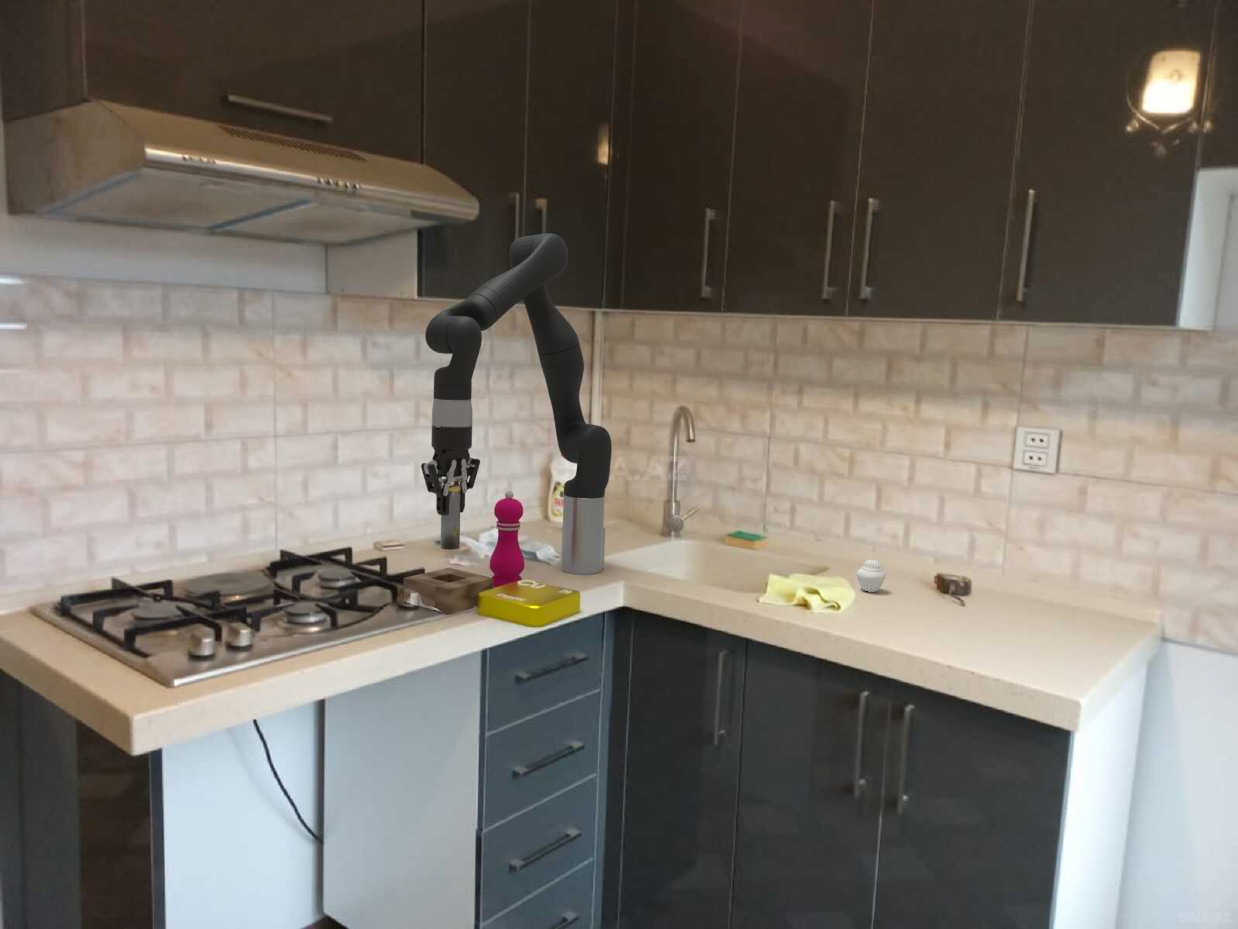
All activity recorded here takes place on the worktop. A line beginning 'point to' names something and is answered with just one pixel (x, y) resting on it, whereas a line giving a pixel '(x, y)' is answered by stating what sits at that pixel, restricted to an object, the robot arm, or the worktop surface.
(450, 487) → the metal pin
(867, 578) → the white rounded jar
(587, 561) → the robot arm
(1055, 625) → the worktop surface
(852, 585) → the worktop surface
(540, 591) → the element tile
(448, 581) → the pin block
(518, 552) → the pepper mill
